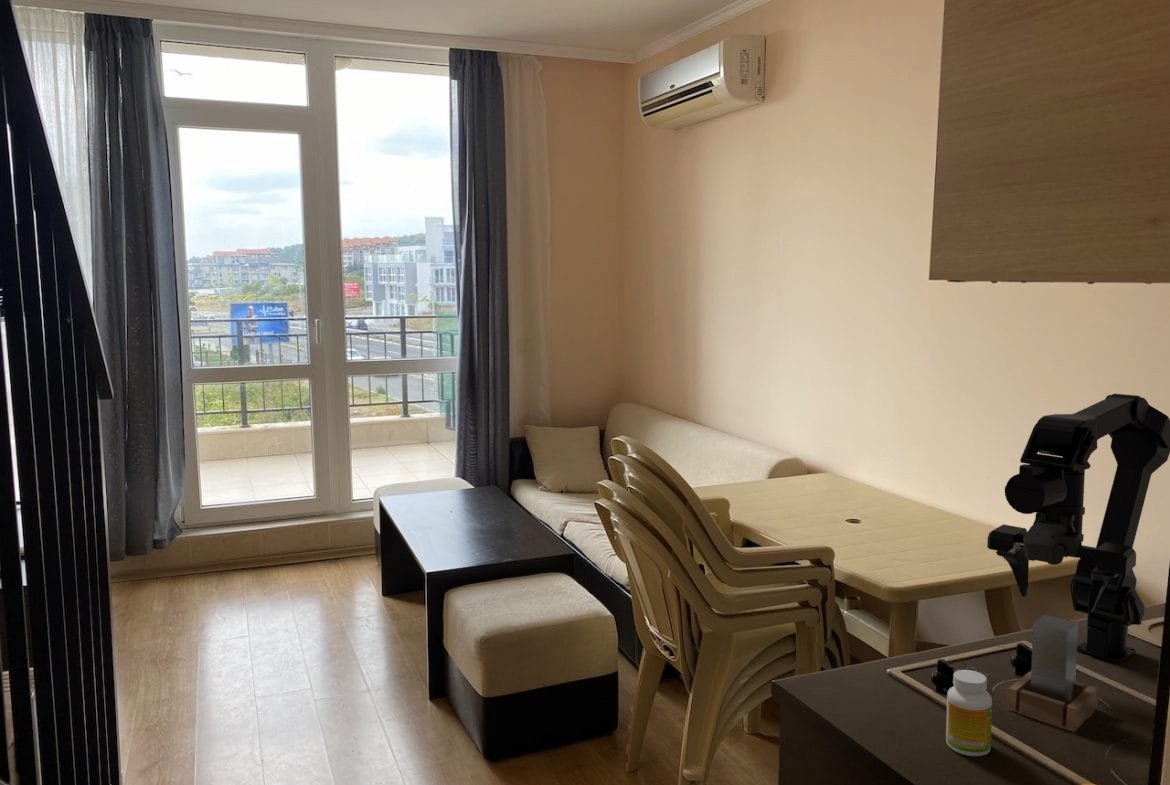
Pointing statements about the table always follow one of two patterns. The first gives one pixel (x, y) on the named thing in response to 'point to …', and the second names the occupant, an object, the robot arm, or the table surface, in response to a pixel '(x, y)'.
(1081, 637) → the table surface
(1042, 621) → the steel square block
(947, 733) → the supplement bottle
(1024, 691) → the wooden square frame
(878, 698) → the table surface
